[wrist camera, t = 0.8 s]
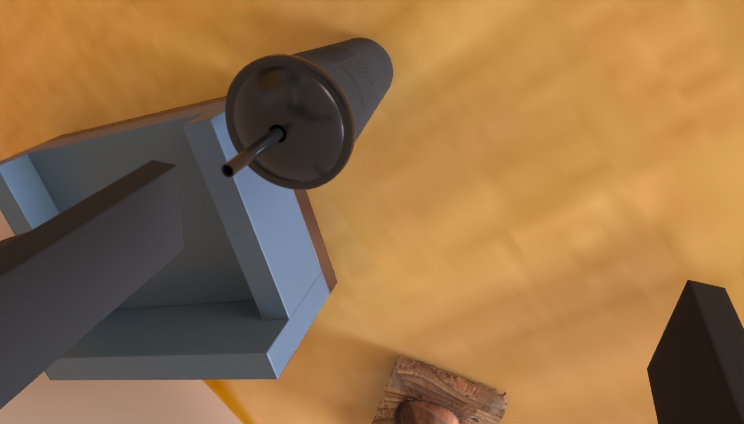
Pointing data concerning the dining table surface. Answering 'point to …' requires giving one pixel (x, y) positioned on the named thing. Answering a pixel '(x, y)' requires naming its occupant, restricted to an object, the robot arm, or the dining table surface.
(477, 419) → the bird sculpture
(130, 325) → the sofa
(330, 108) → the drinking cup
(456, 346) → the dining table surface
